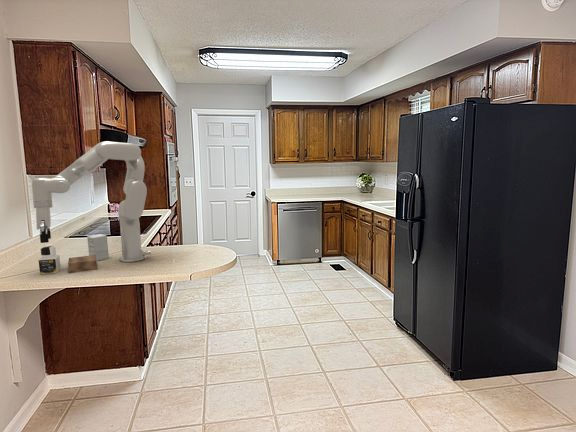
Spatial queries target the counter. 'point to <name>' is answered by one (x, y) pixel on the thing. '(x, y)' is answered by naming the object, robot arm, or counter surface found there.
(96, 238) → the supplement box
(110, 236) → the counter surface
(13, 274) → the counter surface
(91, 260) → the walnut block
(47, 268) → the medicine bottle
